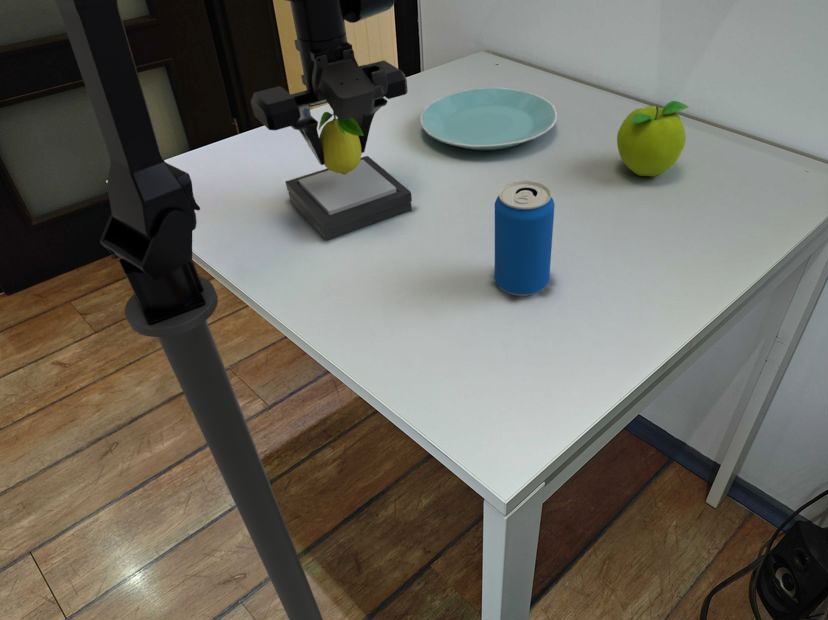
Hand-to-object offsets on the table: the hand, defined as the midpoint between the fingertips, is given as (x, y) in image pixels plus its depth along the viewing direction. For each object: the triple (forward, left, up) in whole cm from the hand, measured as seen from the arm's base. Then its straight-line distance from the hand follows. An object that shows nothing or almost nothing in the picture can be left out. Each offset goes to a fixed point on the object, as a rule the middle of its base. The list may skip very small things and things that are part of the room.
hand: (341, 157), depth 88 cm
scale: (0, 0, -7) cm, 7 cm away
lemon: (0, 0, -3) cm, 3 cm away
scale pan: (0, 0, -5) cm, 5 cm away
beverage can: (+9, -28, -8) cm, 30 cm away
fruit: (+40, -17, -8) cm, 44 cm away
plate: (+29, +8, -8) cm, 31 cm away
